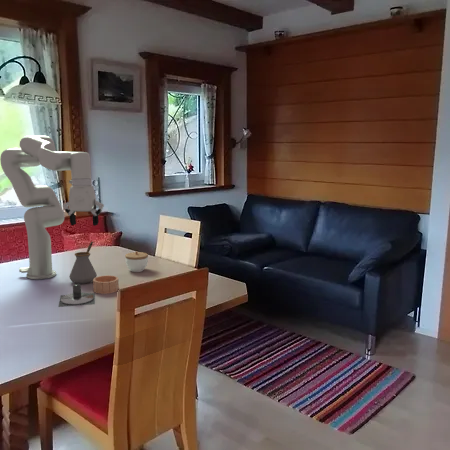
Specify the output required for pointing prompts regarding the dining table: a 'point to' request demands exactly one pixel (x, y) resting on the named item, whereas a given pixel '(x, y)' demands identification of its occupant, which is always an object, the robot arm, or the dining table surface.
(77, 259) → the coffee pot
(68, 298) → the lid
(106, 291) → the bowl
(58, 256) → the dining table surface
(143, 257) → the lidded jar
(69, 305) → the mat
